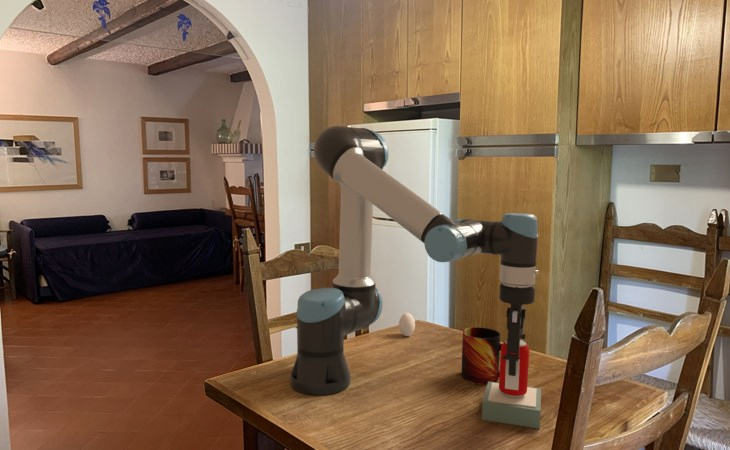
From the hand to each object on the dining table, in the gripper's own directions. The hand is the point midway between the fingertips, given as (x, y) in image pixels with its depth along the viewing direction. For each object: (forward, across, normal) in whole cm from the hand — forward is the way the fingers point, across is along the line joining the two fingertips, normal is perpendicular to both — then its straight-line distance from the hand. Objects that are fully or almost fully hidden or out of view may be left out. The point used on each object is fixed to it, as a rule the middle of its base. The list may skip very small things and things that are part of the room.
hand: (513, 377), depth 119 cm
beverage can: (+4, 0, 0) cm, 4 cm away
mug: (+8, +19, +7) cm, 22 cm away
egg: (+8, +45, +36) cm, 58 cm away
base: (+8, 0, 0) cm, 8 cm away
